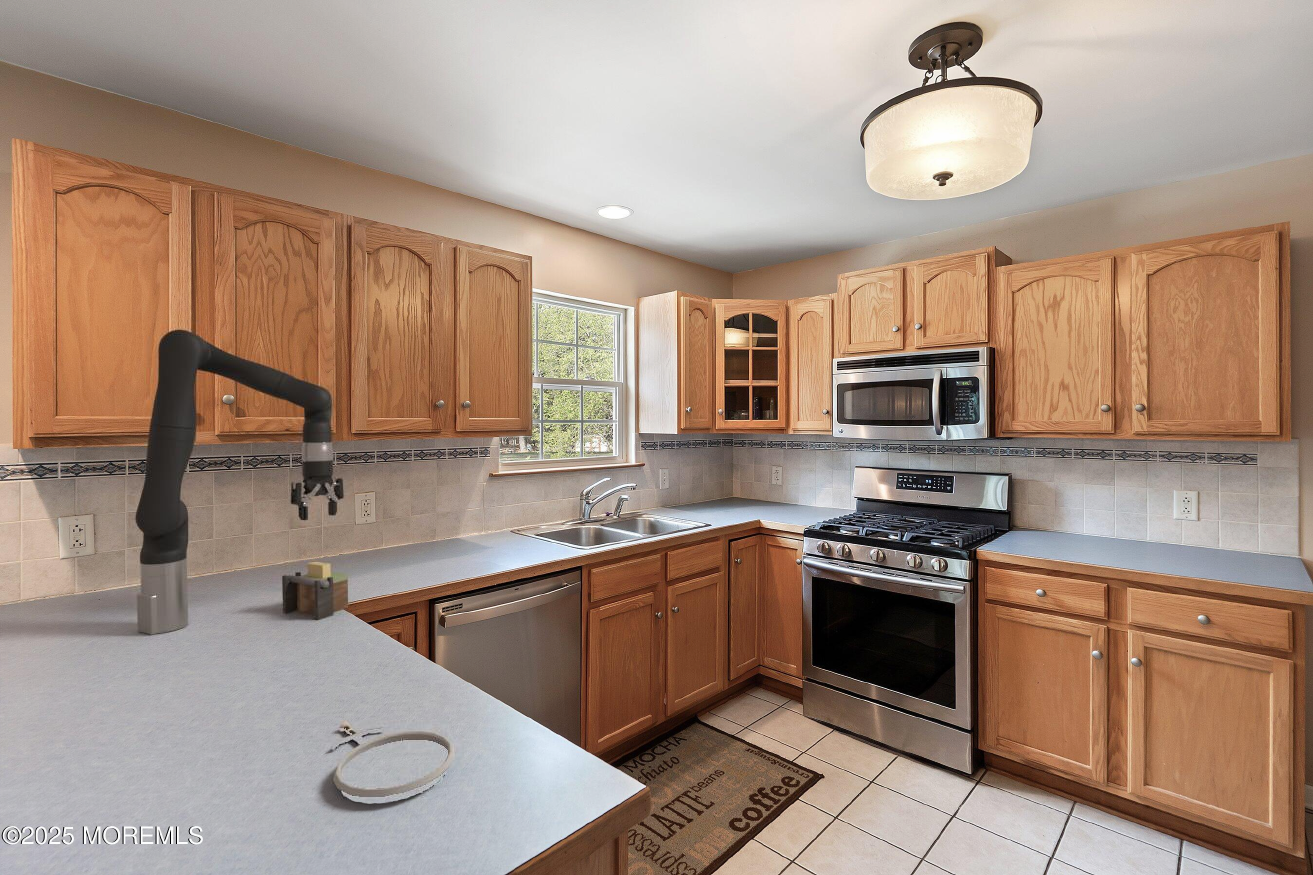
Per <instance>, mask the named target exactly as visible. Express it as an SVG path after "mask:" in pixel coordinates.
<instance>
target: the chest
mask: <svg viewBox="0 0 1313 875" xmlns="http://www.w3.org/2000/svg"><path fill="white" fill-rule="evenodd" d="M301 573H302V572H300V571H297V572H296V571H295V572H294V576H302V574H301ZM281 580H282V581H281V583H282V584H281V585H282V587H281V588H282V589H281V590H282V592H281V593H282V595H281V596H282V613H283V614H289V613H292V612H295V611H297V612H300V613H301V612H302V613H305V614H311V615H314V619H315V620H316V621H319V620H322V619H325V618H328V617H332V616H334V613H335V612H339V611H342V610H345V609H347V608H349V578H348V579H347V580H343V581H340V582H336V583H333V577H328V578H327V581H329V583H330V585H329V587H328V588H323V587H320V581H318V580H317V581H314V586H311V585H305V584H299V583H292V582H288V575H287V574H283V575H282V576H281Z"/></svg>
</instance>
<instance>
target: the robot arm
mask: <svg viewBox="0 0 1313 875" xmlns="http://www.w3.org/2000/svg"><path fill="white" fill-rule="evenodd" d="M157 350H158V352H157V353H158V356H157V358H158V362H157V363H158V366H157V368H158V369H157V370H158V371H157V372H158V375H157V376H158V377H157V385H156V386H157V387H156V390H155V396H154V401H153V406H152V411H151V418H150V423H149V424H150V425H149V428H148V429H149V430H148V437H147V445H146V446H147V449H146V458H145V460H146V461H145V475H144V483H143V486H142V490H141V493H140V494H141V495H140V498H139V502H138V505H137V509H136V512H135V523H136V526H137V528H138V529H139V530H140V532H142V534H143V535H142V536H143V537H142V538H143V540H142V546H141V549H140V553H139V568H140V569H139V571H140V572H139V573H140V575H139V576H140V592H138V593H137V594H136V610H137V611H136V612H137V617H136V618H137V632H139V633H142V634H143V633H144V634H148V635H151V636H152V635H157V634H161V633H162V634H163V633H169V632H173V631H174V632H175V631H176V630H177V631H178V630H180V629H183V628H186V626H188V625H189V602H188V601H189V600H188V599H189V597H188V595H189V594H188V560H187V558H188V556H187V552H188V545H189V512H188V508H187V506H186V504H185V503H184V502H183V501H182V500H181V493H182V492H181V490H182V482H183V479H184V475H185V473H186V470H187V467H188V465H189V462H190V458H192V457H191V456H192V453H193V449H194V447H195V446H194V445H195V440H196V433H197V425H198V424H197V423H198V418H197V417H198V414H197V408H196V407H197V405H196V400H195V397H196V396H195V383H196V377H197V373H198V371H201V372H206V373H211V374H214V375H217V376H220V377H224V378H226V379H228V380H231V381H234V382H236V383H238V384H240V385H243V386H245V387H247V388H249V389H252V390H255V391H256V392H259V393H262V394H265V395H268V396H270V397H273V398H276V399H279V400H283V401H287V402H289V403H291V404H294V405H295V406H299V407H301V408H303V414H304V415H303V416H304V421H303V424H302V447H301V475H302V478H303V479H302V481H301V482H300V481H292V482H291V483H290V484H291V487H290V488H291V489H290V504H291V505H294V506H297V507H298V518H299V520H301V521H308V520H309V506H308V504H309V502H310V501H311V500H313V498H314V497H319V496H324V497H325V498H326V499H327V500H328V503H327V505H328V506H327V510H328V511H327V512H328V516H336V514H337V513H338V502H339V501H340V500H342V499H344V498H345V496H344V495H345V494H344V480H343V478H342V477H333V475H334V448H333V433H332V432H333V430H332V410H333V398H332V394H331V392H330V391H329V390H328V389H327V388H325V387H323V386H321V385H318V384H315V383H312V382H309V381H307V380H304V379H300V378H296V377H294V376H293V375H291V374H289V373H286V372H284V371H282V370H279V369H275V368H273V367H270V366H267V365H266V364H265V365H264V364H262V363H259V362H255V361H252V360H249V359H245V358H243V357H239V356H237V355H235V354H232V353H230V352H227V351H226V350H223V349H221V348H219V347H217V346H215V345H213V344H212V343H211V342H208V341H206V340H205V339H203V337H201V336H199V334H196V333H193V332H191V331H189V330H185V329H173V330H171V331H168V332H167V333H165V334H163V336H162V337H161V339H160V341H159V343H158V349H157ZM332 486H333V488H332ZM302 490H303V491H302Z"/></svg>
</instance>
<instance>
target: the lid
mask: <svg viewBox="0 0 1313 875" xmlns="http://www.w3.org/2000/svg"><path fill="white" fill-rule="evenodd" d="M331 570H332V569H331V563H329V562H328V563H327V562H321V561H312V562H309V563H307V573H306V574H303V575H302V574H301V576H295V575H292V574H289V575H287V576H288V582H292V583H299V584H305V585H311V586H314V581H317V580H318V581H320V587H323V588H328V587H329V585H330V583H329V581H327V578H328V577H333V583H336V582H340V581H343V580H347V579H348V580H349V578H348V573H344V572H337V571H331Z"/></svg>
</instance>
